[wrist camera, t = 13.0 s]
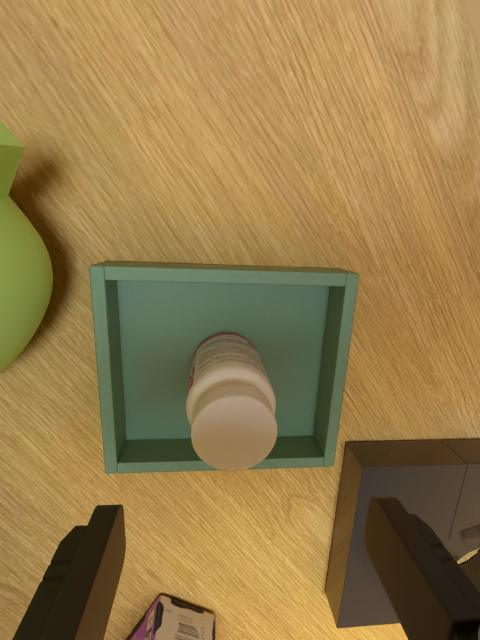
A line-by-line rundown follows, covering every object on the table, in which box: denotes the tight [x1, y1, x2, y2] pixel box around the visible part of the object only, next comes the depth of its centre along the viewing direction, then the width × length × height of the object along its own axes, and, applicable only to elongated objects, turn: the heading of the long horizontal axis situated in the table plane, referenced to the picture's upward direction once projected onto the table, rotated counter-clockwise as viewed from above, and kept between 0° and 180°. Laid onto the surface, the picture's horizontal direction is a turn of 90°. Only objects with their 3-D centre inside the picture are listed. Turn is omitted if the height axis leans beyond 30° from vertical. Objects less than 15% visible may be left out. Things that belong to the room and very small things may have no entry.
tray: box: [89, 261, 359, 473], centre depth 22 cm, size 16×14×3 cm
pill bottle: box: [186, 332, 277, 471], centre depth 19 cm, size 5×5×8 cm
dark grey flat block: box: [325, 439, 480, 628], centre depth 28 cm, size 18×17×3 cm
